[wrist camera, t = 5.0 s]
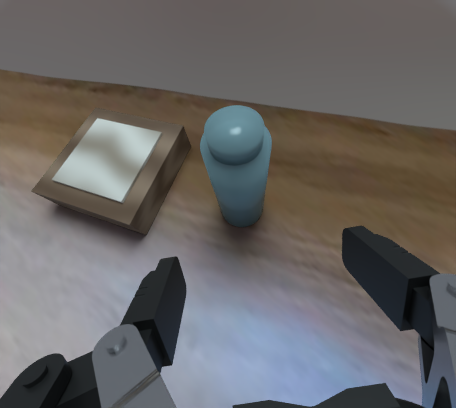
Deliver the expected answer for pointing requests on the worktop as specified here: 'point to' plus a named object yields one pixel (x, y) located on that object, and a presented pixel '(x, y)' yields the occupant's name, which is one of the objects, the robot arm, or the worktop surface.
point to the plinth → (117, 168)
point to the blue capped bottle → (237, 162)
